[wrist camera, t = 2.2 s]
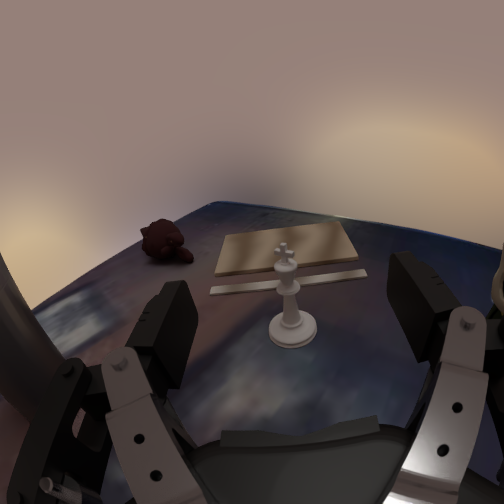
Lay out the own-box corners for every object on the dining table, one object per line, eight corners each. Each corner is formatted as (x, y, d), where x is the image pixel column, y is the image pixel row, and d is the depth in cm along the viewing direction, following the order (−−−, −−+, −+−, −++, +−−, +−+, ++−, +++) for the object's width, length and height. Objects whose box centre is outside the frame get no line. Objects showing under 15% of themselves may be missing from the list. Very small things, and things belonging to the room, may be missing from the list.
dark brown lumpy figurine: (118, 228, 46) (159, 250, 37) (146, 203, 49) (194, 218, 40) (136, 254, 50) (180, 282, 42) (162, 230, 54) (210, 250, 45)
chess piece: (303, 354, 24) (297, 265, 19) (259, 339, 27) (241, 254, 22) (324, 320, 27) (322, 234, 22) (283, 309, 30) (272, 227, 25)
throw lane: (210, 295, 34) (209, 292, 34) (226, 238, 49) (226, 235, 48) (367, 277, 32) (367, 273, 32) (339, 224, 46) (339, 221, 46)
